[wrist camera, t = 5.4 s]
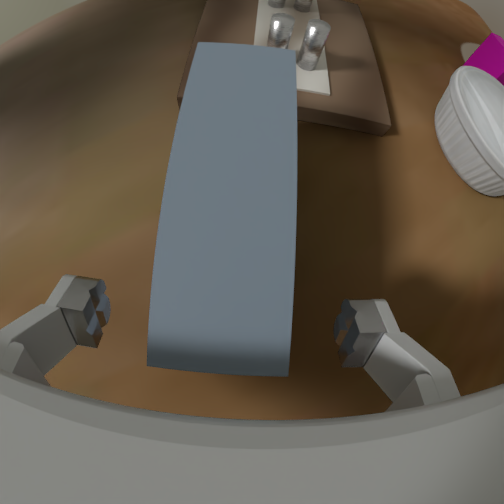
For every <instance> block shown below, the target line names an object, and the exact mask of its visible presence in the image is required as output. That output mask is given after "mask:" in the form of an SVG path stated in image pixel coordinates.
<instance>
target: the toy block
mask: <svg viewBox="0 0 504 504" xmlns="http://www.w3.org/2000/svg"><path fill="white" fill-rule="evenodd" d="M463 66H473V67H476V68H479V69H481V70H483V71H485V72H487V73H488V74H490V75H491V76H493V77H494V78H495V79H496V80H498V81H499V82H500V83H501V84H502V85H503V86H504V40H503V39H502V38H501V37H500V36H498V35H496V34H494V33H491V34H490V35H489V36H488V37H487V39H486V40H485V41H484V42H483V43H482V44H481V45H480V46H479V47H478V49H477V50H476V51H475V52H474V53H473V54H472V55H471V56H470V58H469V59H468V60H467V61H466V62H465V63H464V65H463Z"/></svg>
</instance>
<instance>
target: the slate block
mask: <svg viewBox="0 0 504 504" xmlns="http://www.w3.org/2000/svg"><path fill="white" fill-rule="evenodd" d="M296 216H297V83H296V52H295V50H289V49H282V48H275V47H266V46H257V45H247V44H234V43H214V42H198V44H197V48H196V51H195V54H194V58H193V61H192V65H191V69H190V72H189V76H188V80H187V84H186V87H185V91H184V95H183V99H182V104H181V108H180V112H179V116H178V121H177V125H176V130H175V135H174V139H173V144H172V149H171V154H170V159H169V165H168V170H167V175H166V181H165V187H164V193H163V199H162V206H161V212H160V219H159V226H158V233H157V241H156V249H155V258H154V267H153V277H152V287H151V299H150V312H149V327H148V346H147V366H152V367H159V368H167V369H175V370H184V371H194V372H204V373H216V374H231V375H250V376H288V372H289V359H290V345H291V330H292V314H293V295H294V275H295V250H296Z"/></svg>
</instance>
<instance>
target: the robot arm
mask: <svg viewBox="0 0 504 504" xmlns="http://www.w3.org/2000/svg"><path fill="white" fill-rule="evenodd" d="M105 290H106V286H105V283H104V281H103V280H101V279H95V278H89V277H82V276H74V275H68V274H66V275H64V276H63V277H62V278H61V280H60V281H59V283H58V284H57V286H56V287H55V289H54V290H53V292H52V293H51V295H50V297H49V298H48V300H47V301H46V303H45V305H44V304H41V305H39V306H37V307H36V308H34V309H32V310H31V311H29V312H28V313H26V314H24V315H23V316H21V317H20V318H18V319H16V320H15V321H13V322H12V323H10V324H9V325H7V326H6V327H4V328H2V329H1V330H0V504H504V383H503V384H501V385H498V386H495V387H492V388H488V389H485V390H482V391H479V392H475V393H472V394H468V395H465V396H460V393H459V391H458V388H457V386H456V384H455V381H454V379H453V377H452V374H451V372H450V370H449V369H448V368H447V367H446V366H445V365H444V364H442V363H441V362H440V361H439V360H438V359H436V358H435V357H434V356H433V355H431V354H430V353H429V352H428V351H427V350H425V349H424V348H423V347H422V346H421V345H419V344H418V343H417V342H416V341H414V340H413V339H412V338H411V337H409V336H408V335H407V334H406V333H404V332H400V329H399V327H398V325H397V323H396V320H395V318H394V316H393V314H392V312H391V310H390V307H389V305H388V303H387V301H386V300H385V299H345V300H344V301H343V302H342V305H341V310H342V313H340V314H339V315H338V316H337V317H336V320H335V323H334V330H333V331H334V339H335V342H336V343H337V344H338V345H339V346H340V348H339V350H338V355H339V359H340V363H341V367H363V368H364V369H365V371H366V372H367V373H368V374H369V375H370V376H371V377H372V379H373V380H374V381H375V382H376V383H377V384H378V386H379V387H380V388H381V389H382V390H383V391H384V392H385V394H386V395H387V396H388V397H389V398H390V399H391V401H392V402H393V403H392V404H391V406H390V407H389V408H388V409H387V410H386V411H385V412H383V413H375V414H368V415H359V416H349V417H338V418H325V419H306V420H244V419H225V418H211V417H199V416H190V415H181V414H173V413H166V412H159V411H152V410H146V409H140V408H135V407H129V406H124V405H119V404H115V403H110V402H105V401H101V400H97V399H93V398H89V397H85V396H81V395H77V394H74V393H70V392H67V391H63V390H60V389H56V388H53V387H51V386H50V384H49V383H48V381H47V380H46V379H45V377H44V375H45V374H46V373H47V372H49V371H50V370H51V369H52V368H53V367H54V366H55V365H56V364H57V363H58V362H59V361H60V360H62V359H63V358H64V357H65V356H66V355H67V354H68V353H69V352H70V351H71V350H73V349H74V348H75V347H76V345H81V346H87V347H93V348H97V347H98V345H99V342H100V340H101V337H102V335H103V332H102V330H101V328H102V327H104V326H105V325H106V324H107V323H108V320H109V317H110V310H111V309H110V301H109V298H108V297H107V296H106V295H105V294H104V292H105Z"/></svg>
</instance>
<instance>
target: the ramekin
mask: <svg viewBox="0 0 504 504" xmlns="http://www.w3.org/2000/svg"><path fill="white" fill-rule="evenodd" d="M435 129H436V134H437V138H438V141H439V144H440V146H441V148H442V151H443V153H444V155H445V156H446V158H447V160H448V161H449V163H450V165H451V166H452V167H453V169H454V170H455V172H456V173H457V174H458V175H459V176H460V177H461V178H462V180H463V181H464V182H466V183H467V184H468V185H469V186H470V187H471V188H473V189H474V190H476V191H478V192H480V193H482V194H484V195H488V196H501V195H504V86H503V85H502V84H501V83H500V82H499V81H498V80H496V79H495V78H494V77H493V76H491V75H490V74H488V73H487V72H485V71H483V70H481V69H479V68H476V67H473V66H461V67H459V68H458V69H457V70H456V71H455V72H454V73H453V74H452V76H451V78H450V83H449V86H448V87H447V89H446V91H445V93H444V94H443V96H442V98H441V100H440V101H439V103H438V105H437V108H436V111H435Z"/></svg>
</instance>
